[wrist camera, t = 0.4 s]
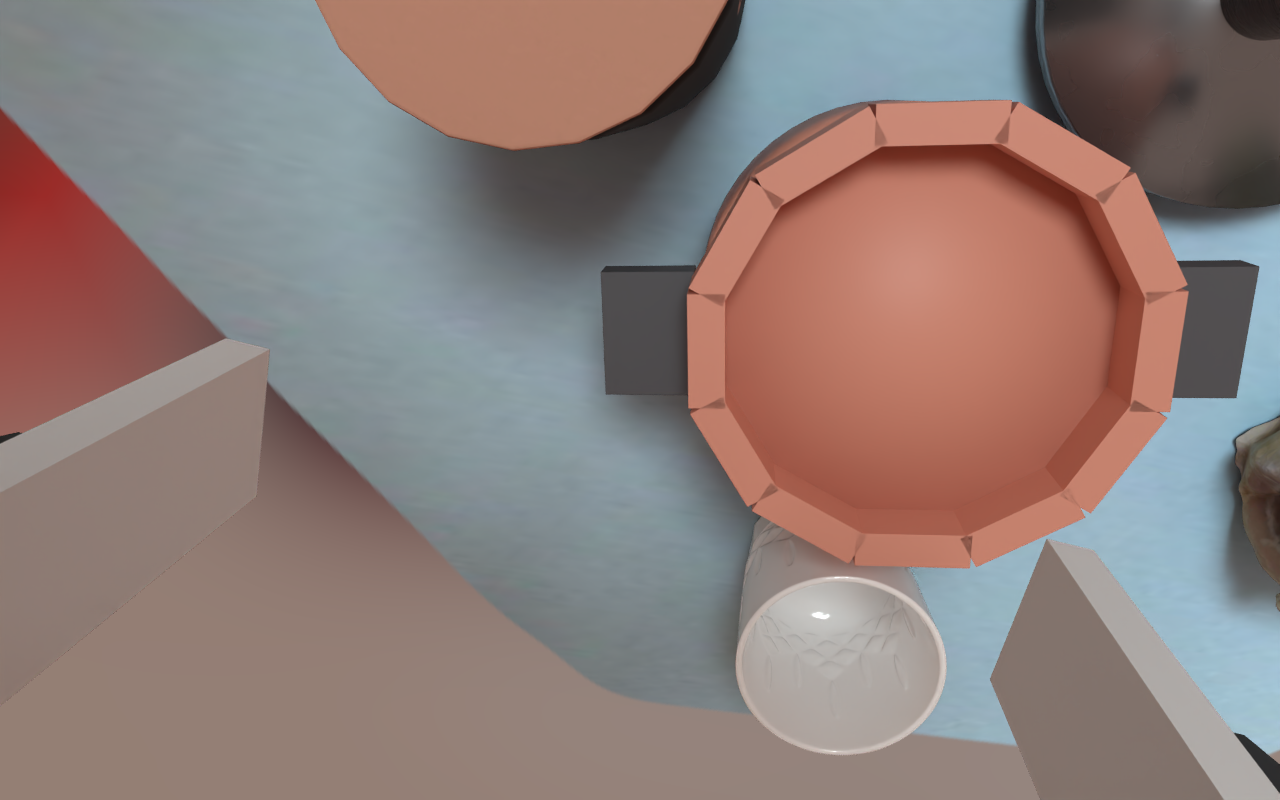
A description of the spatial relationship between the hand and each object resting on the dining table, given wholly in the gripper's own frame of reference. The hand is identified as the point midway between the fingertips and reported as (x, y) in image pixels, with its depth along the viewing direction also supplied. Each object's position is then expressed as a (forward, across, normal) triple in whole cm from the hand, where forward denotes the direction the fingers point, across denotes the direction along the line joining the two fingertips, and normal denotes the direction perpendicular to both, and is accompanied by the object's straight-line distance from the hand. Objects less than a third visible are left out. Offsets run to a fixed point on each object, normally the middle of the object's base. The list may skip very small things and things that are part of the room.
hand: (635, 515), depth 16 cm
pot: (+27, +8, +1) cm, 28 cm away
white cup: (+27, +9, -12) cm, 31 cm away
